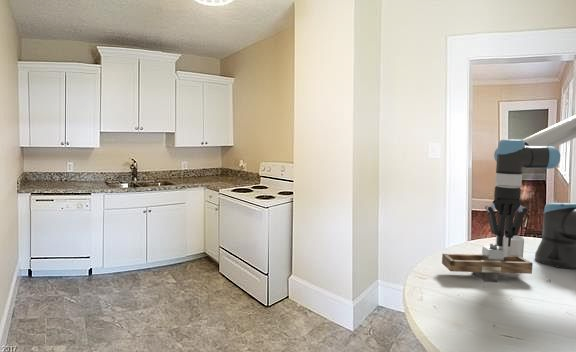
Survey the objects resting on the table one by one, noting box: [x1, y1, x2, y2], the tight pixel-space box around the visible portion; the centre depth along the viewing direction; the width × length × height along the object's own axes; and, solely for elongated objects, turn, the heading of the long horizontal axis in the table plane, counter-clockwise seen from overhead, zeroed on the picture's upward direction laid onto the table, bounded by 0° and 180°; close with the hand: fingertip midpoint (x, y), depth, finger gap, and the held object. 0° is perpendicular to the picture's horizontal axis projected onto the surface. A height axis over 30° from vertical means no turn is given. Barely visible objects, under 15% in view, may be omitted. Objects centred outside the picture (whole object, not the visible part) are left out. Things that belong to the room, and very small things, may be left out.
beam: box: [441, 253, 534, 283], centre depth 126 cm, size 26×9×7 cm, turn 87°
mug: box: [495, 233, 525, 258], centre depth 138 cm, size 12×9×11 cm
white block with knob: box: [481, 243, 504, 261], centre depth 125 cm, size 5×4×6 cm
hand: (502, 255), depth 125 cm, fingers closed
